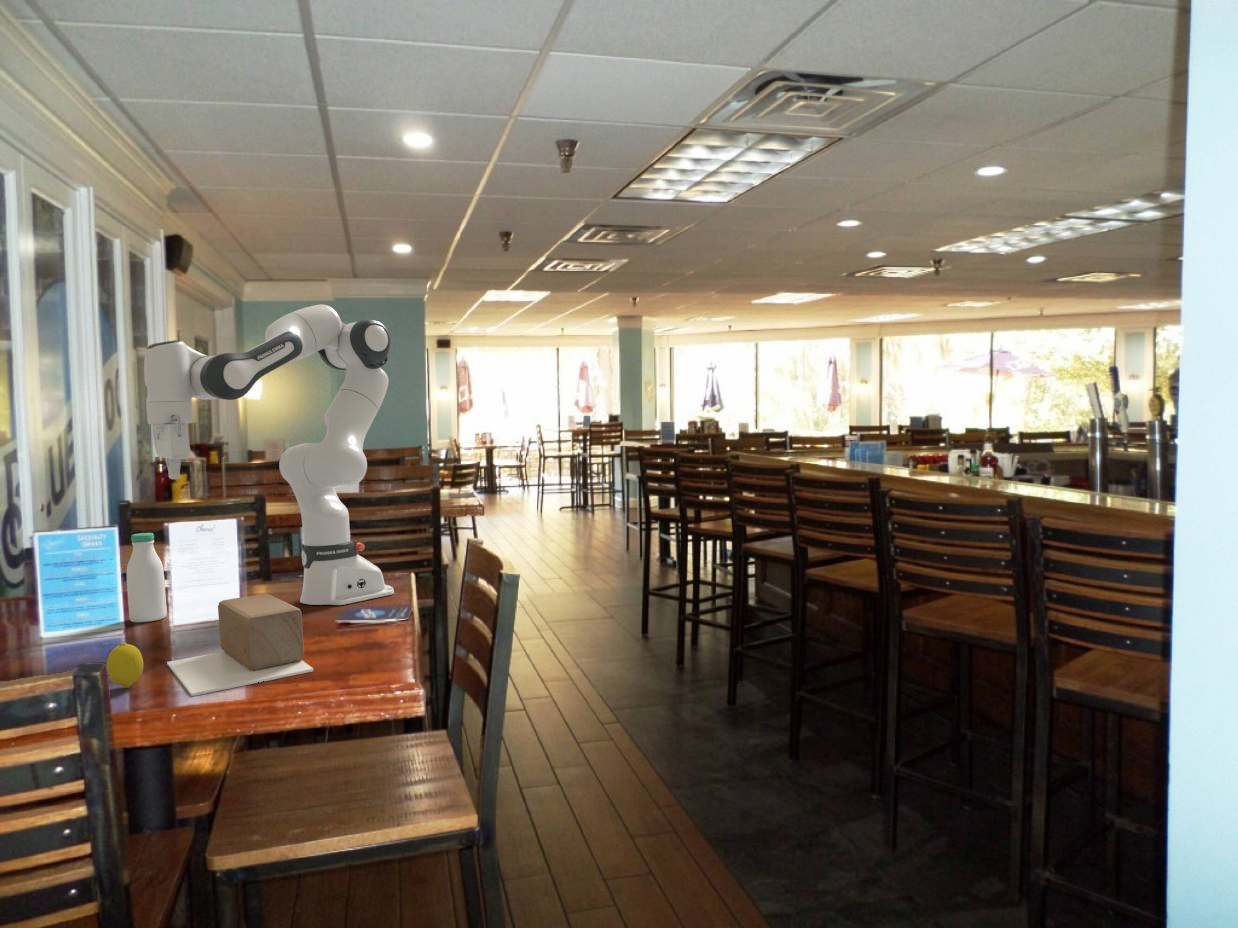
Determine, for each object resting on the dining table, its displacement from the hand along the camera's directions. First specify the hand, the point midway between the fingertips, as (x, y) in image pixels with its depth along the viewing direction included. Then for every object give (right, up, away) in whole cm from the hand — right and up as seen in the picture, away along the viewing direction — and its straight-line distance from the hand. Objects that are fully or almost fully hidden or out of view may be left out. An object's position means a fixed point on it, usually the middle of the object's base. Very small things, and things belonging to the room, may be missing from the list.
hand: (174, 478), depth 190 cm
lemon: (+12, -36, -39) cm, 54 cm away
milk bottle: (-12, -33, +12) cm, 37 cm away
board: (+27, -34, -30) cm, 53 cm away
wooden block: (+22, -28, -16) cm, 39 cm away
